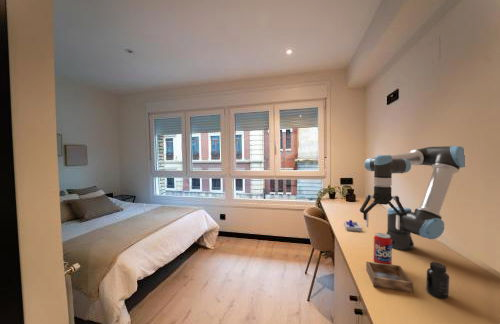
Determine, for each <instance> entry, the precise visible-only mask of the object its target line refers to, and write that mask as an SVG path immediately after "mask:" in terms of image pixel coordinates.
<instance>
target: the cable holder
mask: <svg viewBox="0 0 500 324" xmlns="http://www.w3.org/2000/svg"><path fill="white" fill-rule="evenodd" d="M348 221H349V227H355V225H352V222H353V220H352V219H349V220H348Z"/></svg>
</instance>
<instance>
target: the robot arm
mask: <svg viewBox="0 0 500 324" xmlns="http://www.w3.org/2000/svg"><path fill="white" fill-rule="evenodd" d="M464 149H465V147H464V146H460V145H457V146H456V145H451V146H450V145H448V146H445V145H444V146H427V147H423V148H418V149H413V150H410V151H409V152H405V153H400V154H399V153H397V154H393V155H390V154H383V155H382V154H381V155H380V154H377V155H374V157H370V158H367V159H366V160H365V161H364V168H365V170H366V171H369V172H373V173H374V175H373V185H374V186H373V194H366V197H365V200H364V201H363V203H362V205H361V206H360V209H359V211H360V213H362V214H363V220H364V221H365V227H366V228H369V212H370V211H371V210H372V209H374V207H375V206H377V205H385V206H387V205H389V208H388V209H387V213H386V214H387V231H386V233H385V234H388V235H390V236H391V237H390V238H391V239H392V249H395V250H400V251H413V250H414V249H415V243H414V241H413V237H412V235H411V234H413V235H417V236H419V237H421V238H423V239H428V240H437V239H438V238H440V237H441V236H442V235H443V233H444V231H445V222H444V220H443V219H442V218H443V217H442V215H441V214H440V213H441V211H442V210H441V209H442V206H443V204H444V202H445V198H446V197H447V193H448V191H449V188H450V185H451V183H452V179H453V177H454V174H456V173H459V171H460V170H461V169H462V168H465V167H466V166H465V155H464ZM412 166H430V167H432V168H433V171H432V173H431V175H430V178H429V181H428V184H427V187H426V189H425V192H424V195H423V197H422V200H421V204H420V206H418V207H416V208H414V211H412V208H409V207H404V206H403V205H402V203H401V201H400V197H399V195H392V182H393V181H392V178H393V176H392V175H393V174H404V173H405V174H406V173H408V172H410V171H411V169H412ZM372 199H373V201H372V202H371V203H370V200H372ZM392 200H393V201H395V203H396V206H394V204H393V203H392V202H391V201H392ZM369 203H370V204H369ZM368 204H369V205H368Z"/></svg>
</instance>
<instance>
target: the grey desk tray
mask: <svg viewBox="0 0 500 324" xmlns="http://www.w3.org/2000/svg"><path fill="white" fill-rule="evenodd" d="M352 225H355V227H349V220H344V221H343V226H344V227H345V228H344V229H345V231H346V232H347V231H348V232H358V233H362V231H363V230H362V229H363V228H362V226H361V224H360V223H359V221H352Z"/></svg>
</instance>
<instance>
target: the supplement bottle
mask: <svg viewBox="0 0 500 324" xmlns="http://www.w3.org/2000/svg"><path fill="white" fill-rule="evenodd" d="M429 263H430V264H429V268H427V270H426V285H425V287H426V292H427V293H428V294H429V295H430V296H431V297H433V298H436V299H440V300H446V299H449V297H450V275H449V273H447V266H446V265H445V264H442V263H441V262H438V261H437V262H436V261H431V262H429Z"/></svg>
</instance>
